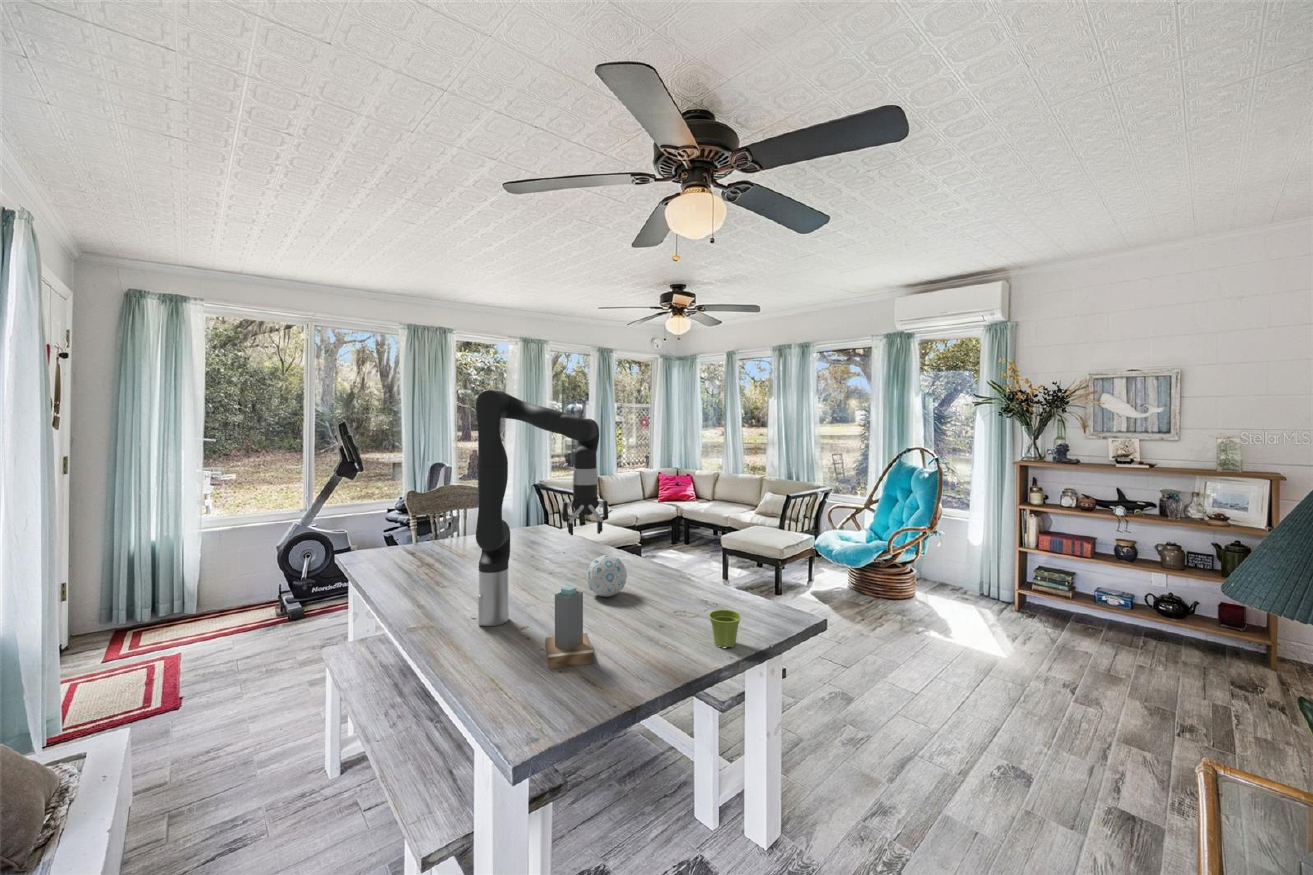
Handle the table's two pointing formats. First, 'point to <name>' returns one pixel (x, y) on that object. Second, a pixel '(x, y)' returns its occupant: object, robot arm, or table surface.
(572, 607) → the carrier
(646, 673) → the table surface
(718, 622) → the plant pot
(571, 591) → the block
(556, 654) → the block
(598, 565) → the puzzle ball
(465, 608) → the table surface
